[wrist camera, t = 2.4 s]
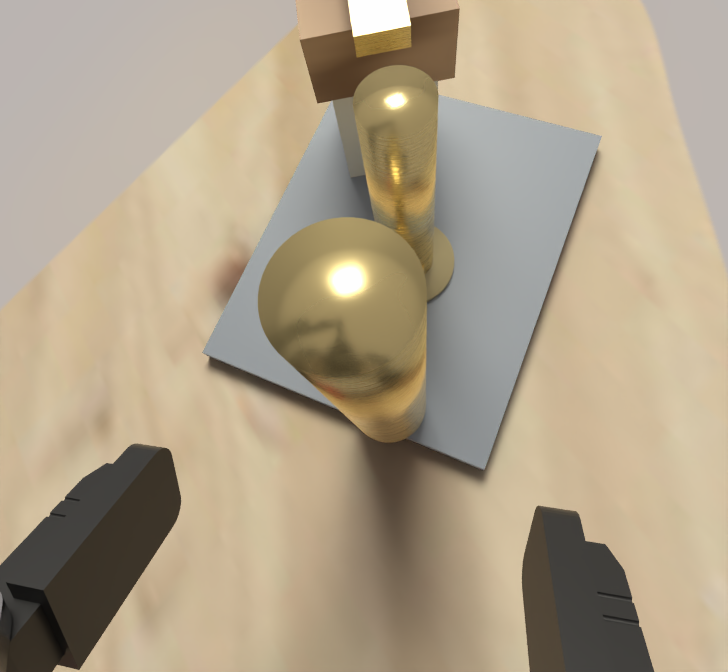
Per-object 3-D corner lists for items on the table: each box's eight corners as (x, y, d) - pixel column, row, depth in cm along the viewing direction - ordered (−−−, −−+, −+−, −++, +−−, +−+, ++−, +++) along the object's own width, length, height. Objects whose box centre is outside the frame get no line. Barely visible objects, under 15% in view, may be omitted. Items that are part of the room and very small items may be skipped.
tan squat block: (317, 103, 20) (299, 39, 17) (305, 1, 22) (288, -72, 19) (454, 77, 20) (459, 8, 17) (432, -25, 21) (432, -104, 19)
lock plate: (209, 356, 25) (133, 310, 18) (348, 82, 29) (326, -36, 22) (482, 470, 22) (506, 462, 15) (596, 146, 26) (653, 31, 19)
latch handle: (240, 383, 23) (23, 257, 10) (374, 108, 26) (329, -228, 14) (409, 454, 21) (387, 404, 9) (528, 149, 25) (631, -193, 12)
